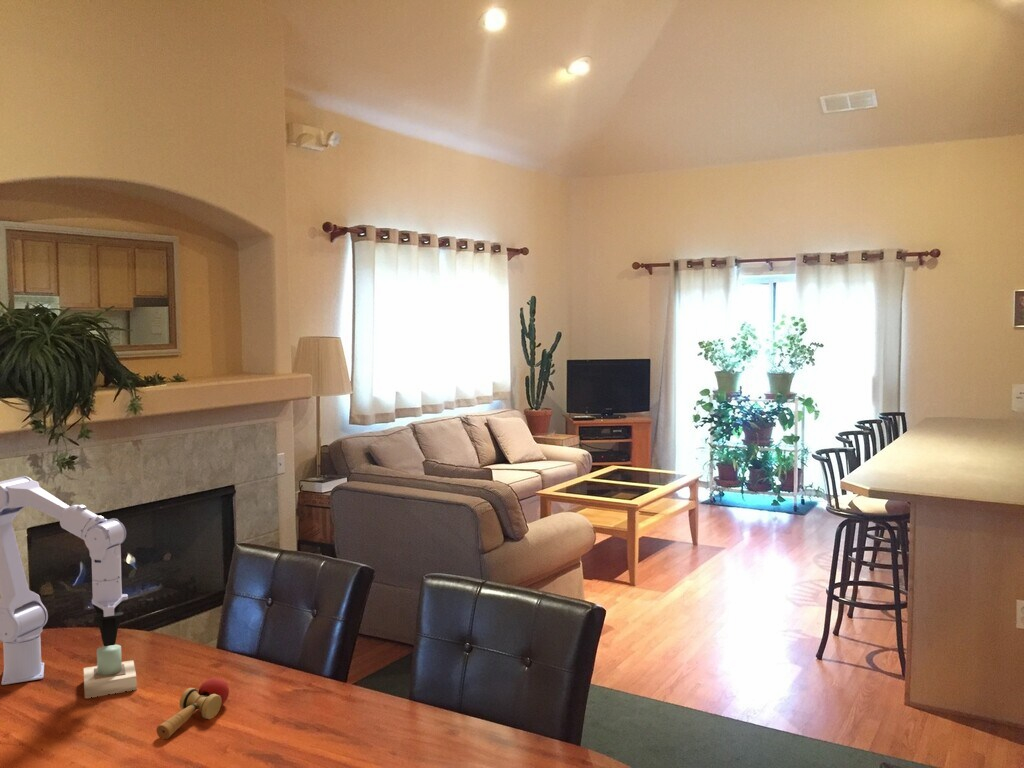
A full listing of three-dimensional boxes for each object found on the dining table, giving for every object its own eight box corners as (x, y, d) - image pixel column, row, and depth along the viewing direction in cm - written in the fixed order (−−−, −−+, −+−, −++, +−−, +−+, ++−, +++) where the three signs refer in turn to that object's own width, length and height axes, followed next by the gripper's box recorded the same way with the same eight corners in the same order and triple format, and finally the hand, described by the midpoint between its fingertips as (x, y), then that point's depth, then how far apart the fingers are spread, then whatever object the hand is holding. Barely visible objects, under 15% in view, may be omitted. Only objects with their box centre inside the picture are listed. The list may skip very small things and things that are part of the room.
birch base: (84, 681, 192) (83, 667, 192) (133, 673, 197) (133, 659, 196) (84, 698, 183) (84, 683, 183) (136, 689, 188) (136, 675, 187)
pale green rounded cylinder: (97, 669, 191) (96, 646, 190) (121, 665, 193) (120, 643, 192) (97, 677, 186) (97, 654, 186) (122, 673, 189) (121, 650, 188)
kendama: (184, 749, 165) (242, 698, 181) (175, 718, 164) (234, 669, 180) (152, 750, 167) (211, 699, 184) (143, 719, 166) (203, 671, 183)
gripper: (129, 584, 183) (130, 647, 184) (125, 566, 196) (126, 625, 197) (91, 588, 180) (93, 653, 181) (90, 570, 193) (92, 630, 194)
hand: (108, 639), depth 189 cm, fingers open, 7 cm apart
